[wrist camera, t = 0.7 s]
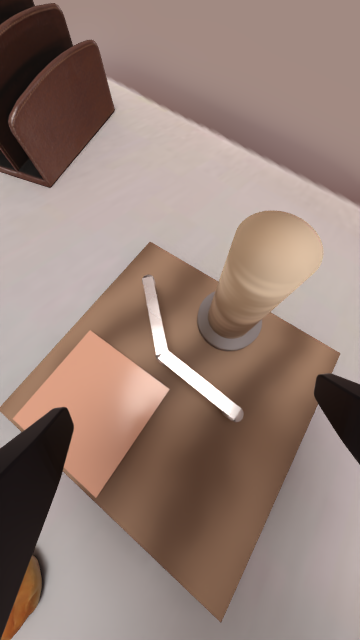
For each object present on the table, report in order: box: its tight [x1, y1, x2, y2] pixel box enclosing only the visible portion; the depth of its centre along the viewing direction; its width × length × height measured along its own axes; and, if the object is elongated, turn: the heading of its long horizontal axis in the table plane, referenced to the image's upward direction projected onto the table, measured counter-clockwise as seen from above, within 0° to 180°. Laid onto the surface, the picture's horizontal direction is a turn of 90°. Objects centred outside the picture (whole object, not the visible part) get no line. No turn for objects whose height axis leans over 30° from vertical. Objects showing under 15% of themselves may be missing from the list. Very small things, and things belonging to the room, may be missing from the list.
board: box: [0, 242, 340, 622], centre depth 20 cm, size 24×23×1 cm
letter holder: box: [0, 0, 115, 187], centre depth 27 cm, size 10×20×14 cm, turn 158°
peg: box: [197, 211, 323, 351], centre depth 16 cm, size 6×6×12 cm
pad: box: [13, 330, 170, 498], centre depth 19 cm, size 10×10×1 cm
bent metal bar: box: [142, 275, 244, 422], centre depth 19 cm, size 15×4×4 cm, turn 32°
